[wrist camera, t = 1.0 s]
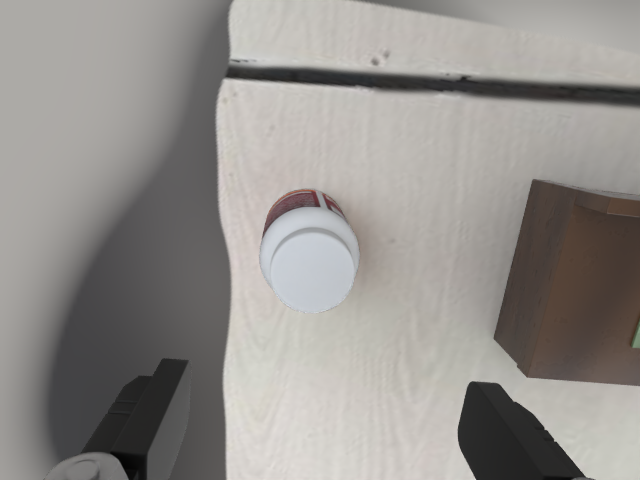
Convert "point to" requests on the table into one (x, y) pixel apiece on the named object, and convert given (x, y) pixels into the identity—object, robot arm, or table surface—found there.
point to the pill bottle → (308, 251)
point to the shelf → (575, 287)
